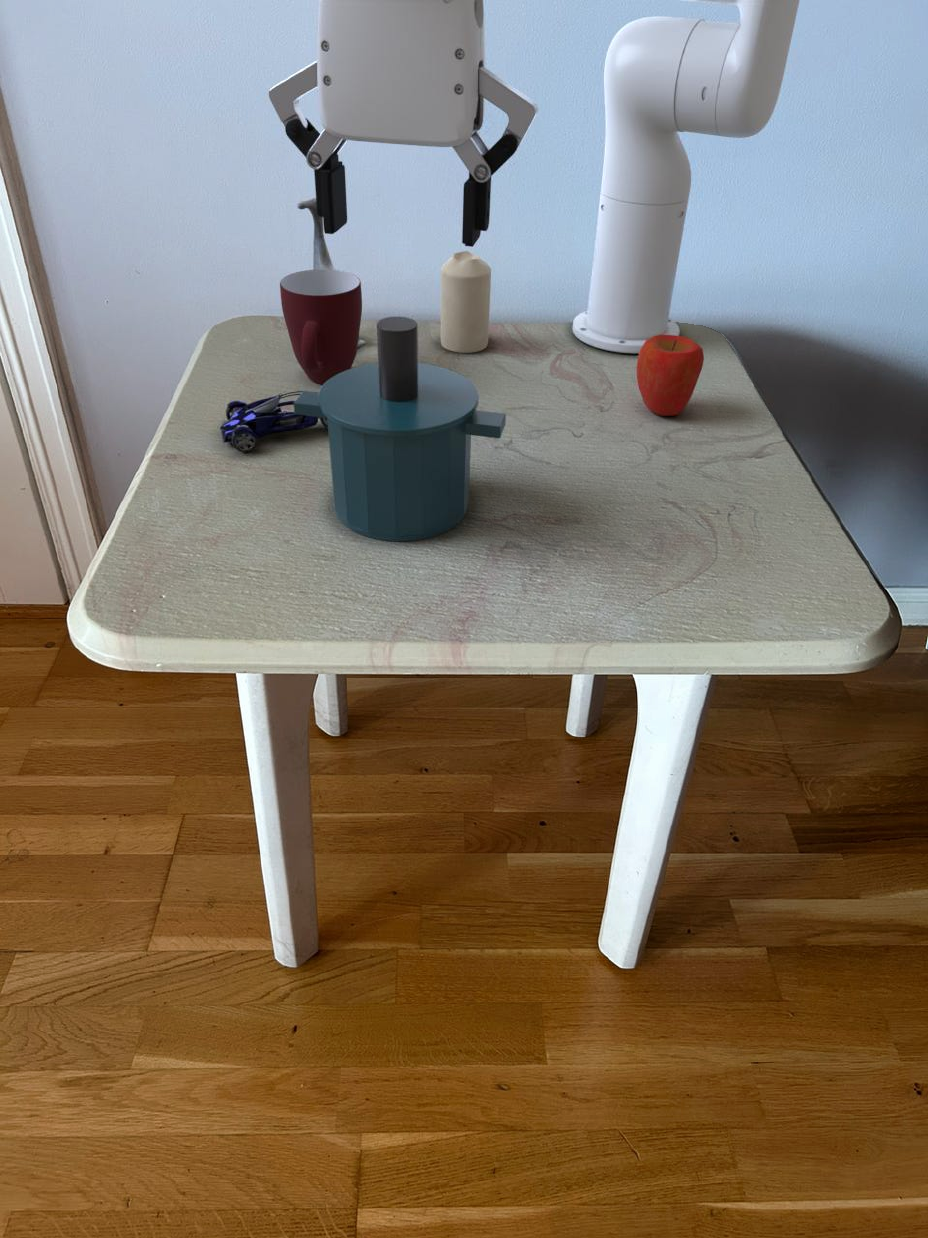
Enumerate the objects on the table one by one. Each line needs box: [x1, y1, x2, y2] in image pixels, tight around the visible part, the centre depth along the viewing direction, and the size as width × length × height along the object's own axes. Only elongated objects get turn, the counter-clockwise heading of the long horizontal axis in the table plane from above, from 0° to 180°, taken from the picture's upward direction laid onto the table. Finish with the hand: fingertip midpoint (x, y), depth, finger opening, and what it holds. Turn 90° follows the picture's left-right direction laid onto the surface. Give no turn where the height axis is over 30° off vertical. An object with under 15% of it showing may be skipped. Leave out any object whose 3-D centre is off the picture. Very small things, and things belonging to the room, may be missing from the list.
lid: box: [318, 316, 480, 436], centre depth 68 cm, size 12×12×7 cm
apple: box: [636, 335, 705, 417], centre depth 89 cm, size 6×6×8 cm
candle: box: [440, 250, 492, 354], centre depth 100 cm, size 6×6×10 cm
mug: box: [279, 269, 363, 385], centre depth 91 cm, size 11×8×10 cm
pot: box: [293, 390, 507, 542], centre depth 73 cm, size 11×17×10 cm
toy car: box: [219, 390, 328, 453], centre depth 84 cm, size 12×6×4 cm, turn 107°
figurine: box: [296, 197, 366, 349], centre depth 98 cm, size 11×6×15 cm, turn 14°
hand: (403, 234), depth 62 cm, fingers open, 9 cm apart
